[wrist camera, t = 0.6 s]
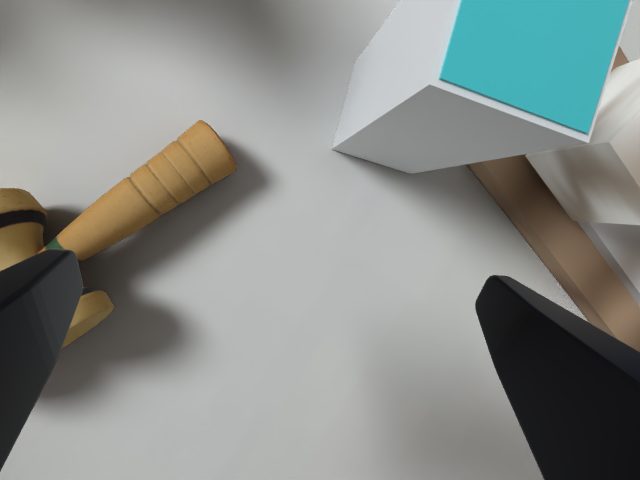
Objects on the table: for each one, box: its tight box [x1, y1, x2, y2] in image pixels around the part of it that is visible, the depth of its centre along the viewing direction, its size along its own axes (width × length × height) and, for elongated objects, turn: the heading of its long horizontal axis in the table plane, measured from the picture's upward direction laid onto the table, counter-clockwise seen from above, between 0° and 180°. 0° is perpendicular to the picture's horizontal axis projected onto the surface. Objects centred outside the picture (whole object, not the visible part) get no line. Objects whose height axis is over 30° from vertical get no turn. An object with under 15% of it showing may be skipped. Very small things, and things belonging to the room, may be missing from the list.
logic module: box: [332, 0, 633, 174], centre depth 16 cm, size 5×5×12 cm
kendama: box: [0, 120, 237, 348], centre depth 17 cm, size 8×6×18 cm
